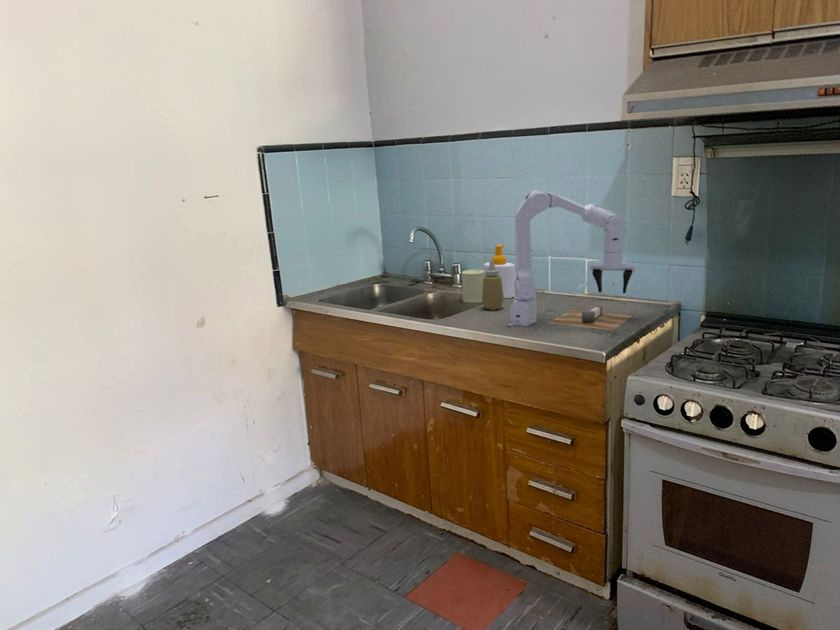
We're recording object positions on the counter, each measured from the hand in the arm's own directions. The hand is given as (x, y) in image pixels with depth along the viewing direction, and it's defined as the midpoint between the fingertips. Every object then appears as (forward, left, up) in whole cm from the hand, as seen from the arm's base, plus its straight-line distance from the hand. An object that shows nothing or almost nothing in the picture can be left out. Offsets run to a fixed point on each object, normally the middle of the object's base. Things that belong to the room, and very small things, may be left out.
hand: (612, 292), depth 206 cm
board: (-5, +5, -9) cm, 12 cm away
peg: (-4, +5, -8) cm, 10 cm away
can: (+9, +58, -10) cm, 59 cm away
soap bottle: (+19, +52, -10) cm, 56 cm away
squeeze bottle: (-1, +44, -10) cm, 45 cm away
